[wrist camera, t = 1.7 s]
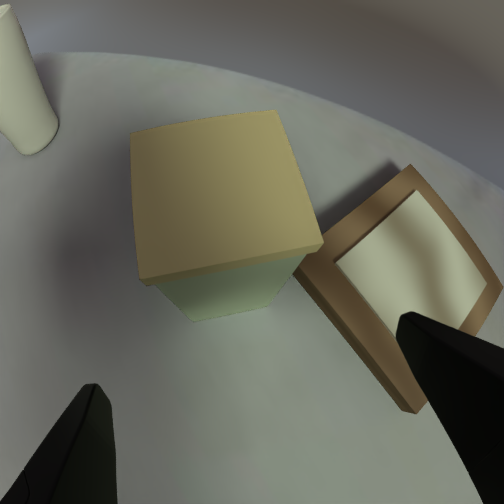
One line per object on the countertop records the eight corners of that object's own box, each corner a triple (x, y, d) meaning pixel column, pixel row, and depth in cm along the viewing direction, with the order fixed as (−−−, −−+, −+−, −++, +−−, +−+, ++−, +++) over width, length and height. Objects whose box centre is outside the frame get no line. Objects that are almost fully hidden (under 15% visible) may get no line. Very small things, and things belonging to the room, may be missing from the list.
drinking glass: (75, 108, 25) (26, -7, 11) (53, 160, 23) (-22, 39, 9) (27, 117, 25) (-27, 21, 11) (5, 167, 23) (-71, 70, 8)
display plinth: (402, 410, 18) (418, 414, 16) (286, 267, 21) (293, 256, 19) (489, 292, 22) (505, 286, 20) (400, 175, 25) (412, 161, 23)
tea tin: (269, 308, 20) (323, 242, 9) (191, 324, 20) (139, 279, 8) (251, 235, 22) (276, 109, 10) (177, 249, 21) (130, 133, 10)
